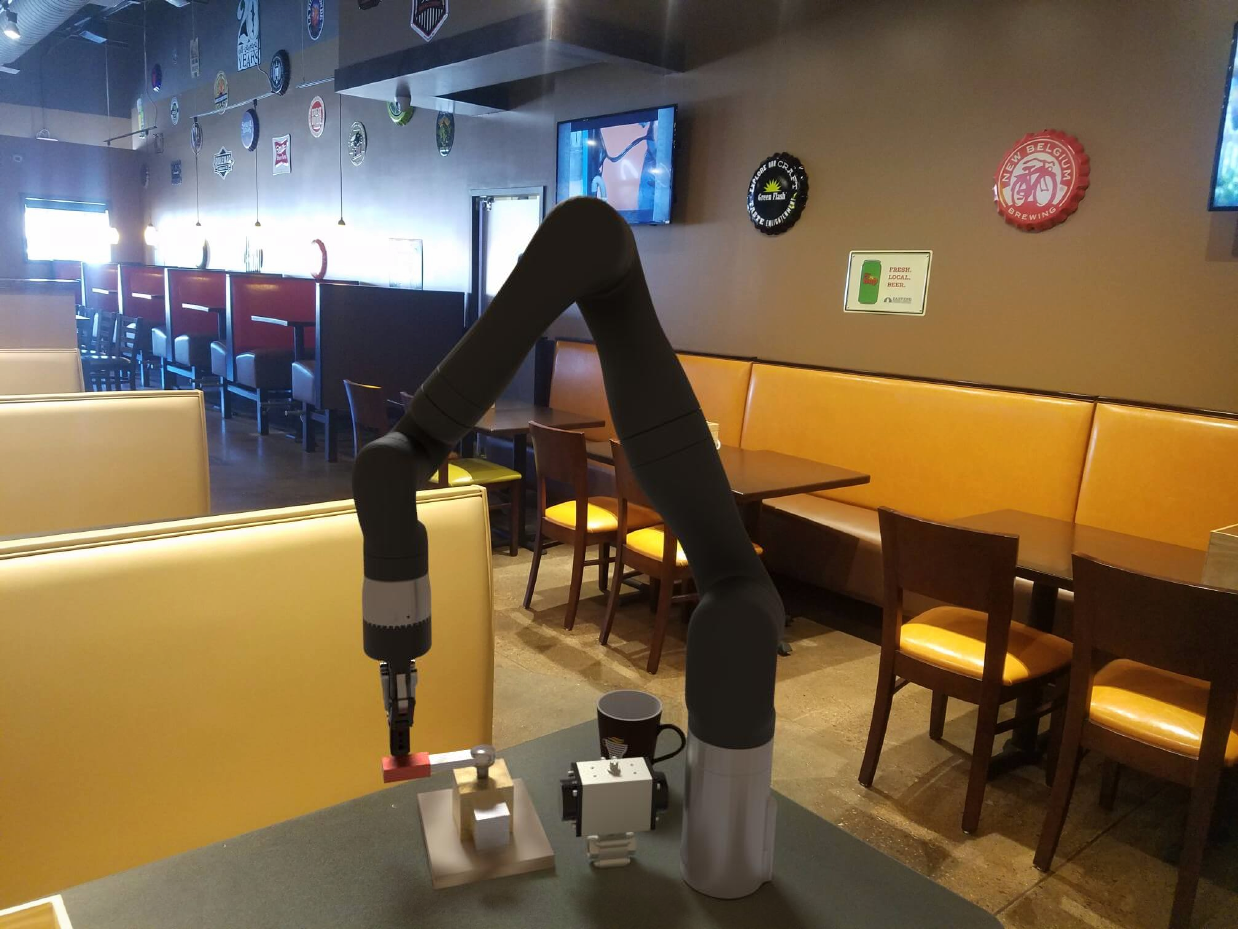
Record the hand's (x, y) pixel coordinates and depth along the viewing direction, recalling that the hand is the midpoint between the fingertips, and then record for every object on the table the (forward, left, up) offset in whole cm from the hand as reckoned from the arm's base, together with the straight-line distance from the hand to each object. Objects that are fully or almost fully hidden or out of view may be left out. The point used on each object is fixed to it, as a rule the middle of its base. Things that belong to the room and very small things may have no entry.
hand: (399, 752), depth 101 cm
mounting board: (-9, +5, -9) cm, 14 cm away
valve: (-9, +5, -8) cm, 13 cm away
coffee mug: (-30, -1, -9) cm, 31 cm away
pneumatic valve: (-22, +13, -9) cm, 27 cm away
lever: (-4, +5, 0) cm, 6 cm away
